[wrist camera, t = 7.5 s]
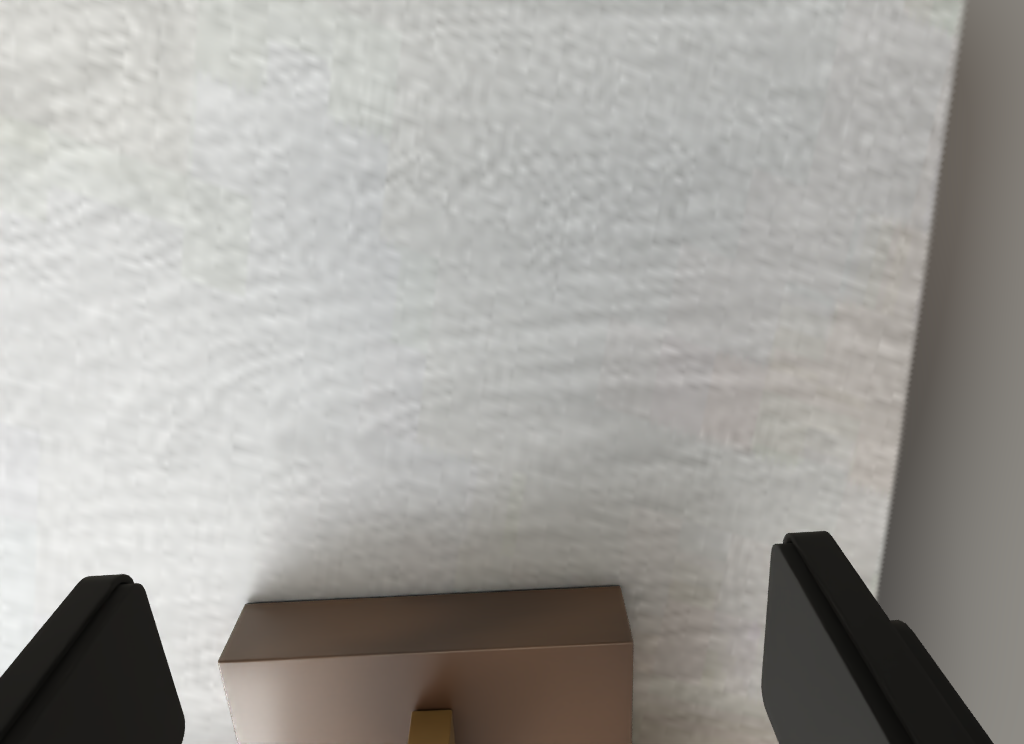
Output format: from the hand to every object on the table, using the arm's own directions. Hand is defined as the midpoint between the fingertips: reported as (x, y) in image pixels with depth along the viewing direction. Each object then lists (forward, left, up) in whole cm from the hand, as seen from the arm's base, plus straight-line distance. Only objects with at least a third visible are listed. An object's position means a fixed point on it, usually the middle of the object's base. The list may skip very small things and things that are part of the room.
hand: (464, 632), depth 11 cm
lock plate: (-9, +13, -14) cm, 21 cm away
